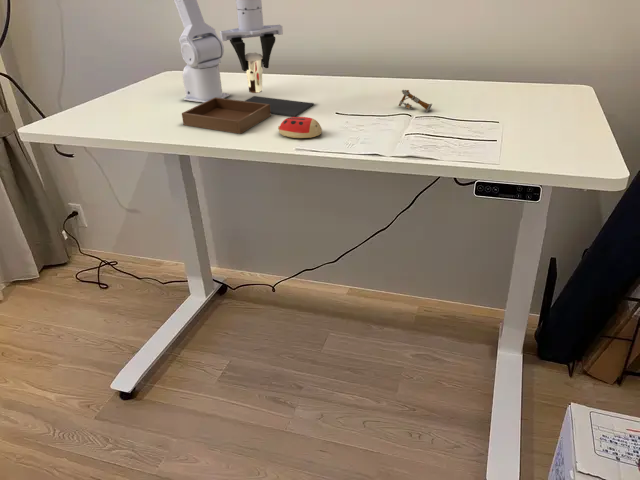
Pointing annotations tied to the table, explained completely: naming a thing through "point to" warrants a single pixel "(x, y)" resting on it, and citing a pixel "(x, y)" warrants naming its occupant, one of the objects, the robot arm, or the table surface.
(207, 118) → the tray
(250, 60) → the milkshake
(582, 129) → the table surface
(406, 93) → the wooden post with brackets
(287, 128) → the ladybug figurine
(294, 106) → the mouse pad
